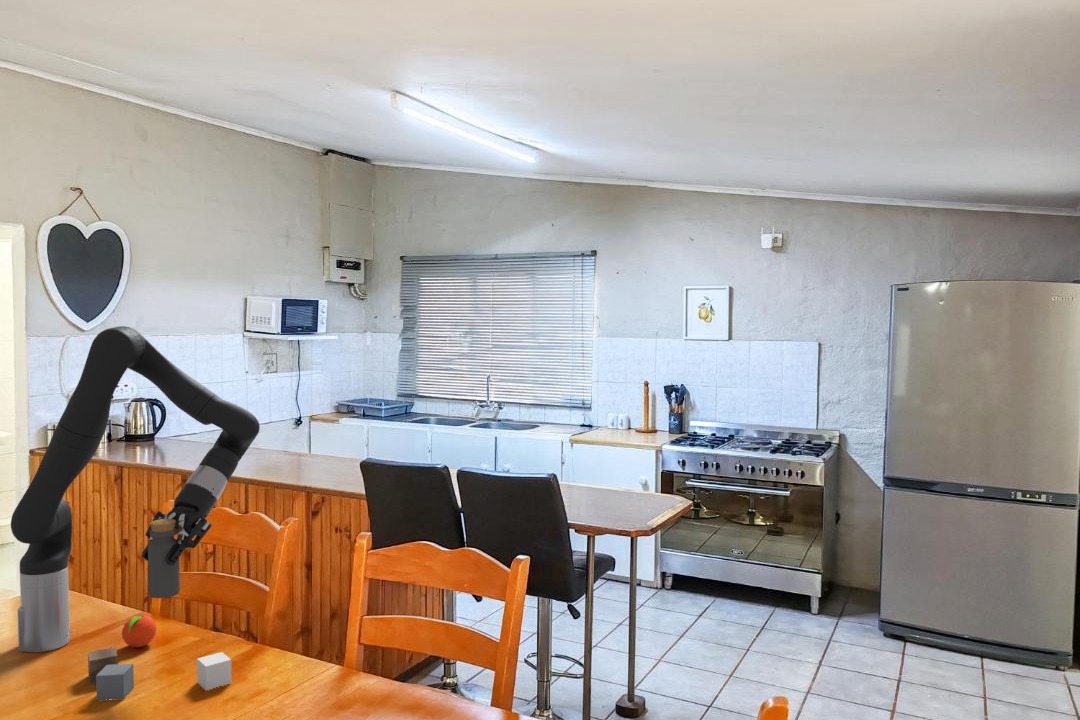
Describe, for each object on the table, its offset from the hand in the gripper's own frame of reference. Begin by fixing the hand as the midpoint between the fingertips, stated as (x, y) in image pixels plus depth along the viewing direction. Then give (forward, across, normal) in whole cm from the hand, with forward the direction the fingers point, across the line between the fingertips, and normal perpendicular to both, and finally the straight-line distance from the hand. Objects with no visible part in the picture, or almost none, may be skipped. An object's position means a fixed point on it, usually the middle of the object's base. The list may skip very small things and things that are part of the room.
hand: (157, 560), depth 167 cm
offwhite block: (+15, +12, +19) cm, 27 cm away
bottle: (+4, 0, +6) cm, 8 cm away
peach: (+11, -17, +24) cm, 31 cm away
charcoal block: (+23, -1, +11) cm, 26 cm away
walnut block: (+20, -10, +14) cm, 27 cm away
